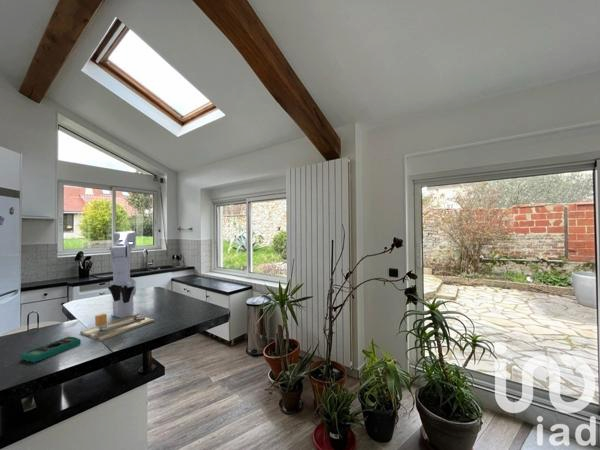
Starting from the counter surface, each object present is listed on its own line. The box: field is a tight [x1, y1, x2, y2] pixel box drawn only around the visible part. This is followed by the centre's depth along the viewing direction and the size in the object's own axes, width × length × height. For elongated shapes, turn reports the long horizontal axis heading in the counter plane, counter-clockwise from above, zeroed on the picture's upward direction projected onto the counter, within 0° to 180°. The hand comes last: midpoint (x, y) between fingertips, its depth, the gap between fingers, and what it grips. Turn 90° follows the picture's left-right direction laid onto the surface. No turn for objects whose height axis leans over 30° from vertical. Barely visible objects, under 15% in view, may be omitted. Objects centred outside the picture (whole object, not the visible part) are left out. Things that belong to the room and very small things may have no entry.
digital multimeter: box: [21, 336, 82, 363], centre depth 96 cm, size 7×15×3 cm, turn 162°
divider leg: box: [94, 312, 109, 331], centre depth 111 cm, size 6×3×7 cm, turn 62°
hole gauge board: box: [79, 312, 155, 342], centre depth 118 cm, size 16×22×4 cm
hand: (121, 301), depth 121 cm, fingers open, 7 cm apart
